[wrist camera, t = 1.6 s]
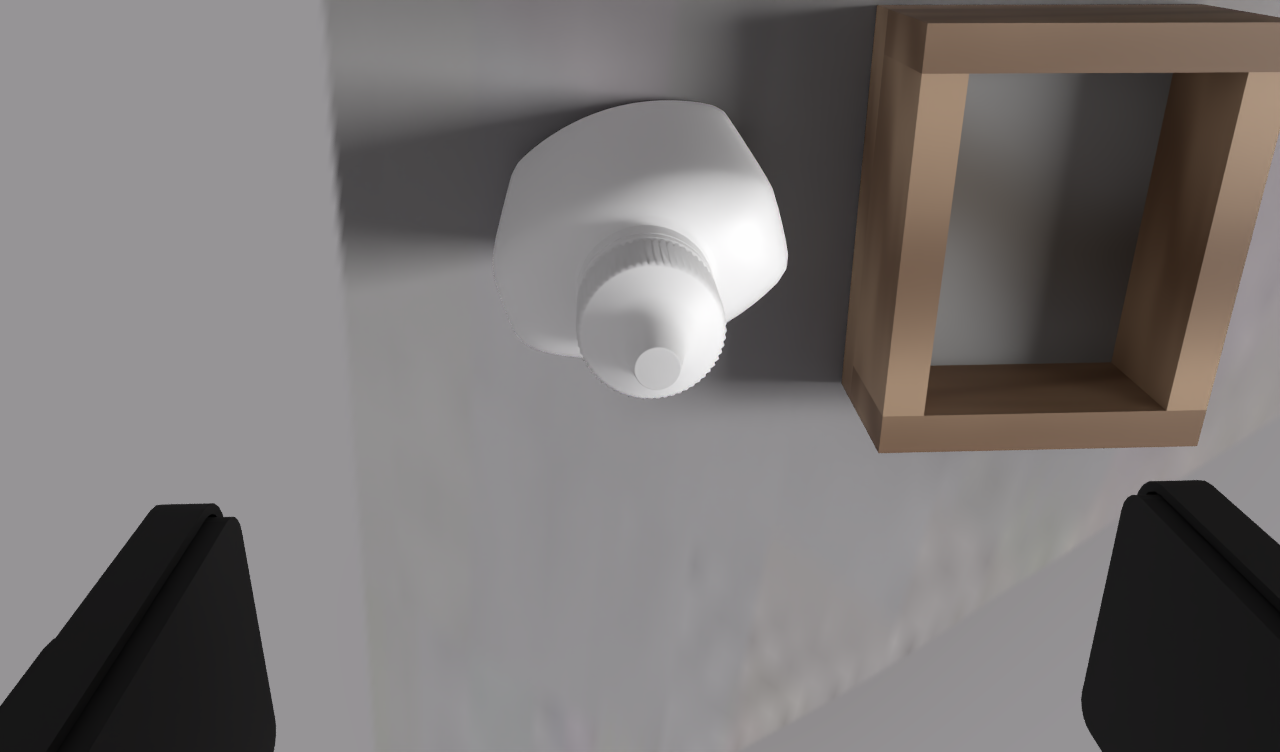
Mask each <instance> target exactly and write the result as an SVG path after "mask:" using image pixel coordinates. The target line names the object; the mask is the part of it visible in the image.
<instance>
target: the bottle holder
mask: <svg viewBox="0 0 1280 752" xmlns="http://www.w3.org/2000/svg"><path fill="white" fill-rule="evenodd" d="M1279 131H1280V18H1279V17H1273V16H1268V15H1262V14H1256V13H1250V12H1244V11H1238V10H1232V9H1226V8H1221V7H1215V6H1209V5H1203V4H1191V5H877V11H876V22H875V32H874V43H873V54H872V64H871V75H870V86H869V96H868V107H867V118H866V128H865V139H864V150H863V160H862V171H861V181H860V192H859V203H858V213H857V224H856V235H855V245H854V256H853V267H852V277H851V288H850V299H849V309H848V320H847V331H846V341H845V352H844V363H843V373H842V385H843V387H844V389H845V391H846V393H847V395H848V396H849V398H850V400H851V402H852V404H853V406H854V408H855V410H856V411H857V413H858V415H859V417H860V419H861V421H862V423H863V425H864V426H865V428H866V430H867V432H868V434H869V436H870V438H871V440H872V441H873V443H874V445H875V447H876V449H877V451H878V453H902V452H947V451H993V450H1038V449H1084V448H1129V447H1175V446H1197V444H1198V441H1199V437H1200V433H1201V429H1202V425H1203V421H1204V418H1205V414H1206V410H1207V406H1208V402H1209V398H1210V395H1211V391H1212V387H1213V383H1214V379H1215V375H1216V372H1217V368H1218V364H1219V360H1220V356H1221V353H1222V349H1223V345H1224V341H1225V337H1226V333H1227V330H1228V326H1229V322H1230V318H1231V314H1232V310H1233V307H1234V303H1235V299H1236V295H1237V291H1238V288H1239V284H1240V280H1241V276H1242V272H1243V268H1244V265H1245V261H1246V257H1247V253H1248V249H1249V245H1250V242H1251V238H1252V234H1253V230H1254V226H1255V222H1256V219H1257V215H1258V211H1259V207H1260V203H1261V200H1262V196H1263V192H1264V188H1265V184H1266V180H1267V177H1268V173H1269V169H1270V165H1271V161H1272V157H1273V154H1274V150H1275V146H1276V142H1277V138H1278V134H1279Z"/></svg>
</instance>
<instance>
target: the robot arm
mask: <svg viewBox="0 0 1280 752" xmlns="http://www.w3.org/2000/svg"><path fill="white" fill-rule="evenodd" d="M1081 702H1082V711H1083V716H1084V720H1085V723H1086V726H1087V728H1088V729H1089V731H1090V733H1091V735H1092V736H1093V738H1094V740H1095V741H1096V743H1097V744H1098V746H1099V747H1100V749H1101V750H1102V752H1280V545H1279V544H1278V543H1277V542H1276V541H1275V540H1273V539H1272V538H1271V537H1270V536H1269V535H1268V534H1267V533H1266V532H1264V531H1263V530H1262V529H1261V528H1260V527H1259V526H1258V525H1257V524H1255V523H1254V522H1253V521H1252V520H1251V519H1250V518H1249V517H1247V516H1246V515H1245V514H1244V513H1243V512H1242V511H1241V510H1240V509H1238V508H1237V507H1236V506H1235V505H1234V504H1232V502H1231V501H1229V500H1228V499H1227V498H1226V497H1225V496H1224V495H1223V494H1221V493H1220V492H1219V491H1218V490H1217V489H1216V488H1215V487H1214V486H1212V485H1211V484H1209V483H1208V482H1206V481H1201V480H1190V481H1189V480H1188V481H1149V482H1147V483H1146V484H1144V485H1143V486H1142V487H1141V489H1140V490H1139V491H1138V494H1137V495H1131V496H1130V497H1128V498H1127V499H1126V501H1125V502H1124V504H1123V507H1122V510H1121V515H1120V520H1119V524H1118V529H1117V533H1116V538H1115V543H1114V548H1113V552H1112V557H1111V561H1110V566H1109V571H1108V575H1107V580H1106V584H1105V589H1104V594H1103V598H1102V603H1101V607H1100V613H1099V617H1098V621H1097V626H1096V630H1095V635H1094V640H1093V644H1092V649H1091V653H1090V658H1089V663H1088V668H1087V672H1086V677H1085V682H1084V686H1083V691H1082V698H1081ZM275 738H276V723H275V716H274V710H273V704H272V699H271V693H270V688H269V682H268V677H267V672H266V665H265V659H264V654H263V648H262V642H261V637H260V631H259V625H258V620H257V614H256V609H255V603H254V598H253V592H252V586H251V580H250V575H249V569H248V564H247V558H246V552H245V547H244V541H243V535H242V530H241V526H240V523H239V522H238V520H237V519H236V518H235V517H223V514H222V512H221V510H220V508H219V507H218V506H217V505H215V504H213V503H212V504H171V505H156V506H155V507H154V508H153V509H152V510H151V511H150V512H149V513H148V515H147V516H146V517H145V519H144V520H143V521H142V523H141V524H140V525H139V527H138V528H137V530H136V531H135V532H134V534H133V535H132V536H131V537H130V539H129V540H128V542H127V543H126V544H125V546H124V547H123V548H122V550H121V551H120V552H119V554H118V555H117V556H116V558H115V559H114V560H113V562H112V563H111V564H110V566H109V567H108V568H107V570H106V571H105V572H104V574H103V575H102V576H101V578H100V579H99V581H98V582H97V583H96V585H95V586H94V587H93V588H92V590H91V591H90V593H89V594H88V595H87V597H86V598H85V599H84V601H83V602H82V603H81V605H80V606H79V607H78V609H77V610H76V611H75V613H74V614H73V615H72V617H71V618H70V620H69V621H68V622H67V623H66V625H65V626H64V627H63V629H62V630H61V631H60V633H59V634H58V636H57V637H56V638H55V639H53V640H52V641H51V642H50V643H49V644H48V645H47V646H46V647H45V648H44V649H43V650H42V652H41V653H40V654H39V655H38V657H37V658H36V659H35V661H34V662H33V663H32V665H31V666H30V667H29V669H28V670H27V672H26V673H25V674H24V675H23V677H22V678H21V679H20V681H19V682H18V683H17V685H16V686H15V687H14V689H13V690H12V691H11V693H10V694H9V695H8V697H7V698H6V699H5V701H4V702H3V703H2V705H1V706H0V752H274V746H275Z"/></svg>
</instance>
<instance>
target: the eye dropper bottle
mask: <svg viewBox="0 0 1280 752" xmlns="http://www.w3.org/2000/svg"><path fill="white" fill-rule="evenodd" d="M787 259H788V251H787V245H786V239H785V234H784V230H783V225H782V221H781V217H780V213H779V209H778V205H777V202H776V198H775V195H774V191H773V188H772V186H771V185H770V183H769V181H768V179H767V177H766V176H765V174H764V172H763V171H762V169H761V167H760V166H759V164H758V162H757V161H756V159H755V158H754V156H753V155H752V153H751V151H750V150H749V148H748V147H747V145H746V144H745V142H744V140H743V139H742V137H741V136H740V134H739V133H738V131H737V130H736V128H735V127H734V125H733V124H732V122H731V121H730V119H729V118H728V116H727V115H726V113H725V112H724V111H723V110H721V109H719V108H717V107H716V106H714V105H711V104H705V103H700V102H692V101H679V100H657V101H645V102H638V103H631V104H626V105H621V106H617V107H613V108H609V109H606V110H603V111H600V112H597V113H594V114H592V115H589V116H587V117H584V118H582V119H580V120H578V121H576V122H574V123H572V124H570V125H568V126H566V127H564V128H562V129H561V130H559V131H557V132H556V133H554V134H553V135H551V136H549V137H548V138H547V139H545V140H544V141H542V142H541V143H540V144H538V145H537V146H536V147H535V148H533V149H532V150H531V151H530V152H528V153H527V154H526V155H525V156H524V157H523V158H522V159H521V160H520V161H519V162H518V163H517V165H516V167H515V169H514V171H513V173H512V175H511V179H510V182H509V186H508V190H507V194H506V198H505V202H504V206H503V210H502V214H501V218H500V222H499V226H498V230H497V235H496V239H495V245H494V251H493V274H494V279H495V282H496V285H497V289H498V292H499V295H500V298H501V300H502V303H503V306H504V309H505V311H506V314H507V317H508V319H509V321H510V324H511V326H512V328H513V331H514V332H515V334H516V335H517V336H518V337H519V339H520V340H521V341H522V342H523V343H524V344H525V345H527V346H529V347H531V348H533V349H535V350H538V351H542V352H547V353H551V354H556V355H563V356H570V357H582V358H583V360H584V361H585V362H587V367H589V368H591V373H594V374H596V378H598V379H601V383H605V384H607V387H610V388H613V389H614V391H620V393H621V394H627V396H634V397H635V398H638V397H641V398H642V399H644V398H649V399H652V398H657V399H659V398H660V397H665V398H666V397H667V396H669V395H670V396H674V395H675V394H676V393H681V392H682V390H688V388H689V387H692V386H694V384H695V383H697V382H700V379H701V378H704V377H706V373H708V372H710V371H711V370H710V368H712V367H713V366H715V363H714V362H715V361H717V360H718V359H719V357H718V355H719V354H721V353H722V350H721V348H722V347H723V346H724V342H723V341H724V340H725V339H726V336H725V333H726V331H727V330H726V327H725V326H726V324H727V322H728V321H730V320H732V319H733V318H735V317H736V316H738V315H739V314H741V313H742V312H744V311H745V310H746V309H748V308H749V307H750V306H752V305H753V304H754V303H755V302H757V301H758V300H759V299H760V298H761V297H763V296H764V295H765V294H766V293H767V292H768V291H769V290H771V289H772V288H773V287H774V286H775V285H776V284H777V283H778V281H779V280H780V278H781V277H782V275H783V273H784V272H785V270H786V268H787Z"/></svg>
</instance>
